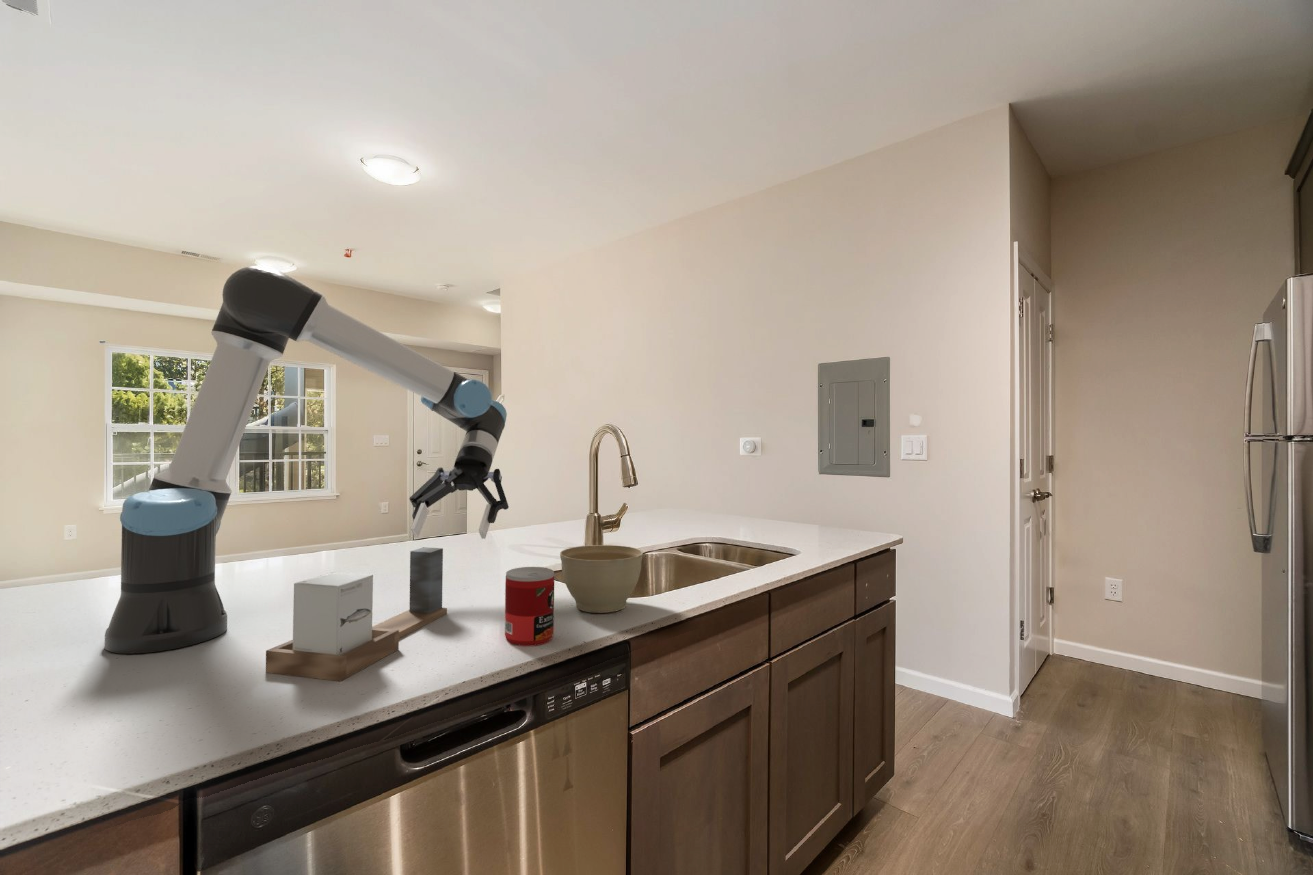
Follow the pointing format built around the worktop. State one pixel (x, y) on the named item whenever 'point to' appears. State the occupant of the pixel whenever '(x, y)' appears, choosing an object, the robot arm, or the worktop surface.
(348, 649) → the supplement box
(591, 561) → the planter bowl
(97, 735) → the worktop surface
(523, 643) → the canned food
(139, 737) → the worktop surface
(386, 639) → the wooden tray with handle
